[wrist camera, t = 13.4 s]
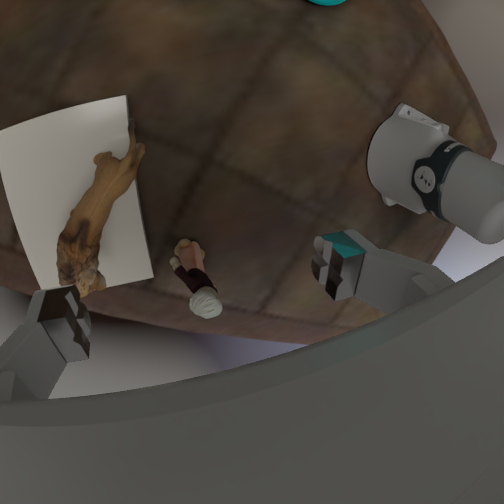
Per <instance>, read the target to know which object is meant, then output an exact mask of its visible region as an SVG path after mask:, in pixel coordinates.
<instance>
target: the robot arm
mask: <svg viewBox="0 0 504 504" xmlns="http://www.w3.org/2000/svg"><path fill="white" fill-rule="evenodd" d="M448 132H449V126H447V125H445V124H442V123H439V122H436V121H434V120H433V119H431V118H429V117H428V116H426V115H424V114H422V113H421V112H419V111H417V110H415V109H414V108H412V107H410V106H408V105H406V104H403V103H401V104H399V105H398V107H397V108H396V110H395V112H394V113H393V115H392V116H391V117H390V118H389V119H387V120H386V121H385V122H384V123H383V124H382V125H381V126H380V127H379V128H378V130H377V131H376V133H375V135H374V137H373V139H372V141H371V144H370V148H369V152H368V160H367V167H368V174H369V178H370V180H371V183H372V184H373V186H374V187H375V188H376V189H377V190H378V191H379V192H380V193H381V196H382V199H383V202H384V204H386V205H388V206H392V205H394V204H397V203H398V204H400V205H402V206H404V207H406V208H408V209H410V210H412V211H414V212H416V213H418V214H421V213H424V212H426V211H428V212H429V213H431V214H433V216H435V217H436V218H438V219H441V220H443V221H445V222H451V223H453V224H454V225H456V226H457V227H459V228H460V229H462V230H463V231H465V232H466V233H468V234H469V235H471V236H472V237H473V238H475V239H476V240H478V241H479V242H481V243H484V244H495V243H497V242H500V241H501V240H503V239H504V165H502V164H499V163H496V162H494V161H492V160H489V159H487V158H484V157H482V156H480V155H478V154H475V153H474V152H473V151H472V150H471V149H470V148H468V147H467V146H466V145H464V144H461V143H458V142H457V141H456V140H455V139H453V138H452V137H450V136H449V135H448ZM313 248H314V249H315V250H316V253H315V254H314V256H313V257H312V263H311V267H312V272H313V275H314V277H315V279H316V280H317V281H318V282H319V283H321V284H324V285H325V291H326V292H327V293H328V294H329V296H330V297H331V298H332V299H333V300H334V301H339V300H342V299H346V298H349V297H352V296H354V297H355V298H357V299H359V300H361V301H363V302H365V303H367V304H369V305H370V306H372V307H374V308H376V309H378V310H380V311H382V312H384V313H386V314H387V316H384V317H382V318H379V319H377V320H375V321H372V322H370V323H367V324H365V325H362V326H360V327H357V328H355V329H352V330H350V331H347V332H344V333H342V334H339V335H336V336H334V337H331V338H328V339H325V340H323V341H320V342H317V343H314V344H311V345H308V346H305V347H302V348H299V349H296V350H293V351H290V352H287V353H284V354H280V355H278V356H274V357H271V358H267V359H264V360H261V361H257V362H254V363H250V364H246V365H243V366H239V367H235V368H232V369H228V370H224V371H220V372H216V373H212V374H208V375H204V376H199V377H195V378H190V379H186V380H181V381H177V382H172V383H166V384H161V385H157V386H151V387H146V388H139V389H133V390H127V391H120V392H113V393H106V394H98V395H90V396H80V397H70V398H58V399H48V397H49V395H50V394H51V392H52V390H53V388H54V386H55V384H56V383H57V381H58V379H59V377H60V375H61V373H62V372H63V370H64V368H65V367H66V365H67V364H66V363H68V362H75V361H81V360H86V359H89V350H90V349H89V348H90V342H89V341H88V339H87V337H88V335H89V334H90V333H91V322H90V316H89V313H88V310H87V308H86V306H85V304H83V303H82V302H80V295H81V294H80V292H79V290H78V288H77V286H76V285H75V284H71V285H66V286H60V287H54V288H49V289H43V290H39V291H36V292H34V294H33V297H32V300H31V303H30V305H29V308H28V312H27V315H26V318H25V321H24V324H23V325H20V326H19V327H18V328H17V329H16V330H15V331H14V332H13V333H12V334H11V336H10V337H9V338H8V339H7V340H6V341H5V342H4V343H3V344H2V346H1V347H0V504H504V256H503V257H500V258H498V259H497V260H495V261H494V262H492V263H490V264H489V265H487V266H485V267H483V268H482V269H480V270H478V271H476V272H475V273H473V274H471V275H469V276H467V277H466V278H464V279H462V280H460V281H458V282H456V283H455V282H454V281H453V280H452V279H451V278H449V277H448V276H447V275H446V274H445V273H444V272H442V271H441V270H440V269H439V268H437V267H436V266H433V265H430V264H427V263H424V262H421V261H418V260H415V259H412V258H409V257H406V256H403V255H400V254H397V253H394V252H391V251H388V250H385V249H378V248H377V247H376V246H374V245H373V244H372V243H371V242H370V241H368V240H367V239H366V238H365V237H363V236H362V235H361V234H360V233H358V232H357V231H356V230H354V229H347V230H343V231H340V232H335V233H331V234H326V235H321V236H317V237H316V238H315V240H314V245H313Z"/></svg>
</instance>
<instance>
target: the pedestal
mask: <svg viewBox="0 0 504 504" xmlns="http://www.w3.org/2000/svg"><path fill="white" fill-rule="evenodd" d="M129 121H130V120H129V108H128V95H122V96H117V97H111V98H107V99H102V100H97V101H93V102H88V103H84V104H80V105H76V106H72V107H69V108H65V109H61V110H58V111H54V112H51V113H48V114H45V115H42V116H38V117H35V118H32V119H29V120H27V121H24V122H21V123H18V124H16V125H13V126H10V127H8V128H6V129H3V130H1V131H0V171H1V176H2V180H3V184H4V188H5V191H6V195H7V199H8V202H9V206H10V209H11V212H12V215H13V218H14V221H15V224H16V227H17V230H18V233H19V236H20V239H21V241H22V244H23V247H24V249H25V252H26V254H27V257H28V259H29V262H30V264H31V267H32V269H33V271H34V274H35V276H36V278H37V280H38V283H39V285H40V287H41V289H42V290H43V289H49V288H54V287H60V284H59V278H58V268H57V265H56V262H57V243H58V238H59V235H60V233H61V232H62V231H63V230H64V228H65V226H66V223H67V220H68V219H69V218H70V212H71V210H73V209H75V207H76V206H77V204H78V203H79V201H80V200H81V198H82V196H83V195H84V193H85V192H86V191H87V190H88V189H89V188H90V187H91V186H92V184H93V181H94V178H95V171H96V167H97V165H96V164H95V163H94V157H95V156H96V155H97V154H99V153H105V152H108V151H111V152H112V157H116V158H118V159H119V160H121V159H122V158H124V157H125V156H126V154H127V152H128V150H129V145H130V138H129V133H128V125H129ZM98 260H99V266H98V269H97V270H99V271H100V272H101V274H102V275H103V276H104V277H105V279H106V287H111V286H116V285H120V284H125V283H130V282H134V281H139V280H144V279H148V278H153V277H154V276H153V270H152V265H151V259H150V252H149V247H148V242H147V237H146V232H145V227H144V222H143V216H142V210H141V205H140V199H139V192H138V186H137V179H136V178H135V179H134V180H133V182H132V183H131V185H130V187H129V189H128V190H127V191H126V192H125V193H124V194H123V195H121V196H120V197H119V198H117V199H116V200H115V201H114V202H113V206H112V209H111V212H110V214H109V217H108V219H107V222H106V223H105V225H104V227H103V231H102V237H101V240H100V251H99V255H98ZM94 290H95V289H94Z"/></svg>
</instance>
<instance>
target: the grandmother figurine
mask: <svg viewBox="0 0 504 504" xmlns="http://www.w3.org/2000/svg"><path fill="white" fill-rule="evenodd" d="M174 253H175V254H176V255H177V256H179V258H180V261H181V263H182V265H181V264H180V263H179V261H178V259H177V258H176V257H172V258H171V259H170V264H171V265H172V266H173V269H174V273H175V274H176V275H177V276H178V277H179V278H180V279H181V280H182V281H183V282H184V283H186V285H187V287H188V288H189V289H190V291H191V292H192V293H193V296H192V298H190V303H189V306H190V309H191V311H193V312H194V313H195V314H196V315H199V316H202V317H203V318H212V317H215V316H217V315H219V314H220V313H221V311H222V304H221V302H220V301H219V300H218V294H217V293H218V292H217V289H216V286H215V285H214V284H212V282H211V280H210V279H209V278H208V276H207V275H206V274H205V269H204V265H203V258H204V257H205V252H204V251H203V250H202V249H200V247H199V244H198V243H197V242H195V241H192V242H191V241H190V240H188V239H181V240H180V241H179V242H178V244H177V246H176V247H175V249H174Z"/></svg>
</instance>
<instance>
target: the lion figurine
mask: <svg viewBox="0 0 504 504" xmlns="http://www.w3.org/2000/svg"><path fill="white" fill-rule="evenodd" d="M134 128H135V120H134V119H133V118H131V119H130V121H129V125H128V133H129V138H130V145H129V150H128V152H127V154H126V156H125V157H124V158H122V159H121V160H119V159H118V158H116V157H112V152H111V151H108V152H105V153H99V154H97V155H96V156H95V157H94V163H95V164H96V165H97V167H96V171H95V178H94V181H93V184H92V186H91V187H90V188H89V189H88V190H87V191H86V192H85V193H84V195H83V196H82V198H81V200H80V201H79V203H78V204H77V206H76V207H75V209H73V210H71V212H70V218H69V219H68V220H67V223H66V226H65V228H64V230H63V231H62V232H61V233H60V235H59V238H58V243H57V262H56V265H57V268H58V278H59V284H60V286H66V285H71V284H75V285H76V286H77V288H78V290H79V292H80V294H81V295H80V299H81V297H85V296H87V295H88V293H90V292H92V291H93V290H94V289H95V290H104V289H105V288H106V279H105V277H104V276H103V275H102V274H101V272H100V271H99V270H97V269H98V266H99V260H98V255H99V251H100V240H101V237H102V231H103V227H104V225H105V223H106V222H107V219H108V217H109V214H110V212H111V209H112V206H113V202H114V201H115V200H116V199H117V198H119V197H120V196H121V195H123V194H124V193H125V192H126V191H127V190H128V189H129V187H130V185H131V183H132V182H133V180H134V179H135V178H136V175H137V169H138V166H139V163H140V161H141V159H142V157H143V155H144V154H145V145H144V144H143V143H141V142H139V143H137V144H136V138H135V134H134Z"/></svg>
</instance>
